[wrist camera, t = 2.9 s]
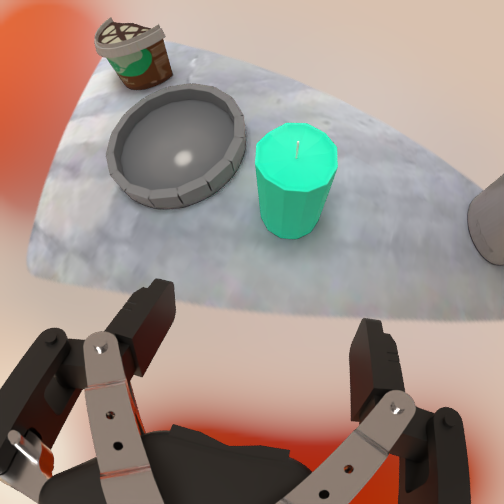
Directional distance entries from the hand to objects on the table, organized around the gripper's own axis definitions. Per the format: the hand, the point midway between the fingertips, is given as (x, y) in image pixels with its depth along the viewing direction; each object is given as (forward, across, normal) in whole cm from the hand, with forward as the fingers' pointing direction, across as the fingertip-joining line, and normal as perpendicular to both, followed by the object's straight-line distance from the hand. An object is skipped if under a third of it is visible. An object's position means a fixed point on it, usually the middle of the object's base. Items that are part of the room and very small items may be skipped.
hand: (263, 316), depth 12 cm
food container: (+32, +25, -9) cm, 42 cm away
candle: (+20, 0, +3) cm, 20 cm away
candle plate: (+24, +14, -1) cm, 28 cm away
